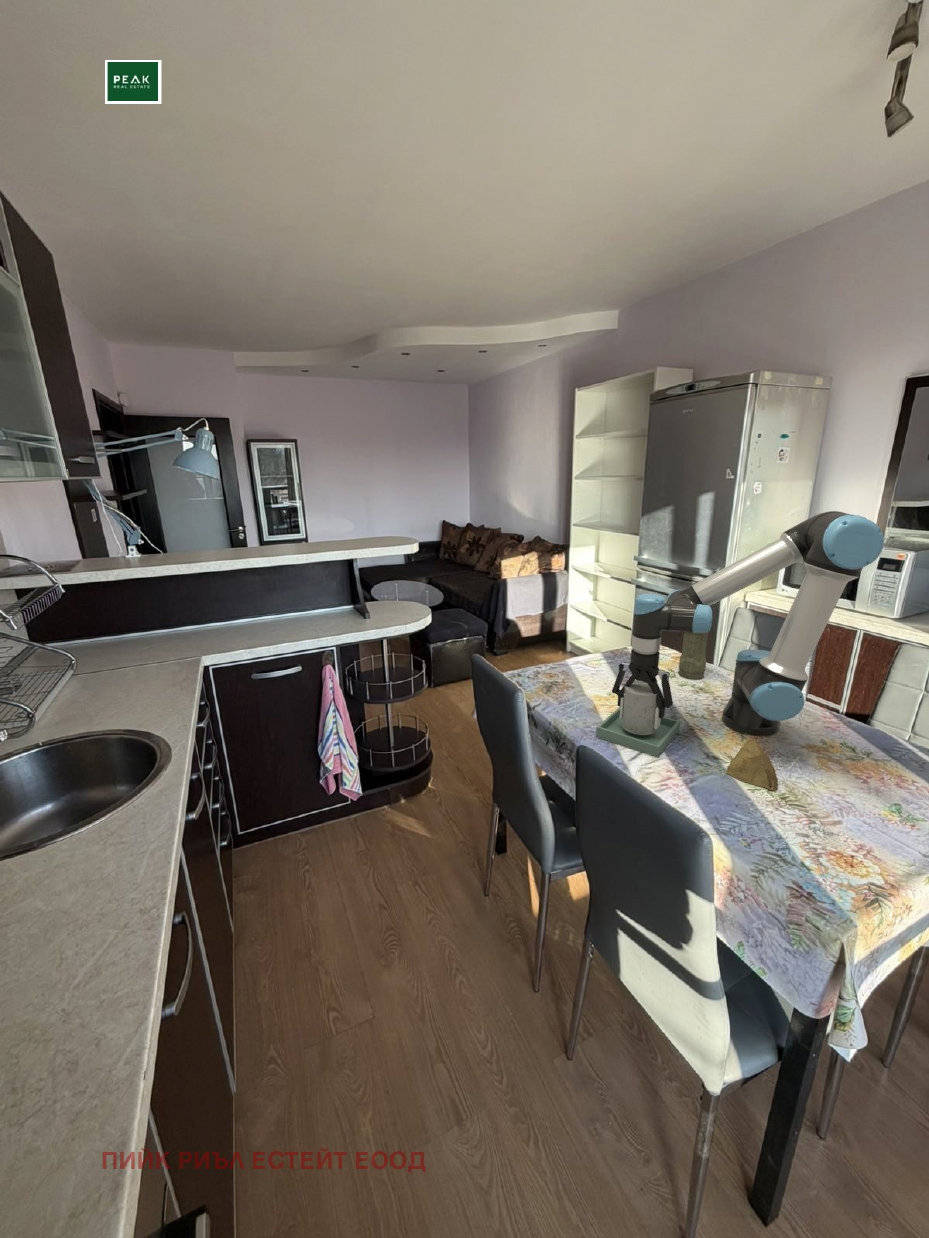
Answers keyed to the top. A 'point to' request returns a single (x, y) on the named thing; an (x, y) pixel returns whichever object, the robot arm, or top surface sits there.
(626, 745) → the tray
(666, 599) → the robot arm
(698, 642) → the thermos
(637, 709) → the speckled white canister
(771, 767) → the rock
